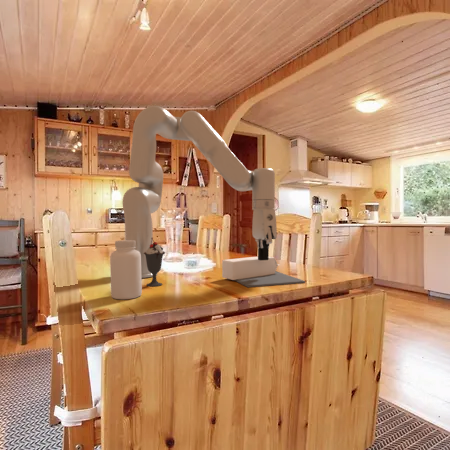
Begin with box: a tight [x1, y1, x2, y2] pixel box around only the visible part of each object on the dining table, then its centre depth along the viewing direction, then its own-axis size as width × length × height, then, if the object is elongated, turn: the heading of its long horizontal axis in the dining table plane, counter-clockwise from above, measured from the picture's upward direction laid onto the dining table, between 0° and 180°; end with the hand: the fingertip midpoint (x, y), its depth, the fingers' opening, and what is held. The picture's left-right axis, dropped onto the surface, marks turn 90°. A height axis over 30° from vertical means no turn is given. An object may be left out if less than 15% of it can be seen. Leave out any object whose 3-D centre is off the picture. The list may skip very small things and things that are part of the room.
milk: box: [221, 255, 280, 281], centre depth 118 cm, size 6×6×22 cm
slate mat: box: [233, 270, 306, 288], centre depth 113 cm, size 20×20×1 cm
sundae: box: [144, 237, 166, 288], centre depth 104 cm, size 7×7×15 cm
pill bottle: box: [109, 239, 143, 300], centre depth 90 cm, size 8×8×15 cm
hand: (263, 259), depth 113 cm, fingers closed
